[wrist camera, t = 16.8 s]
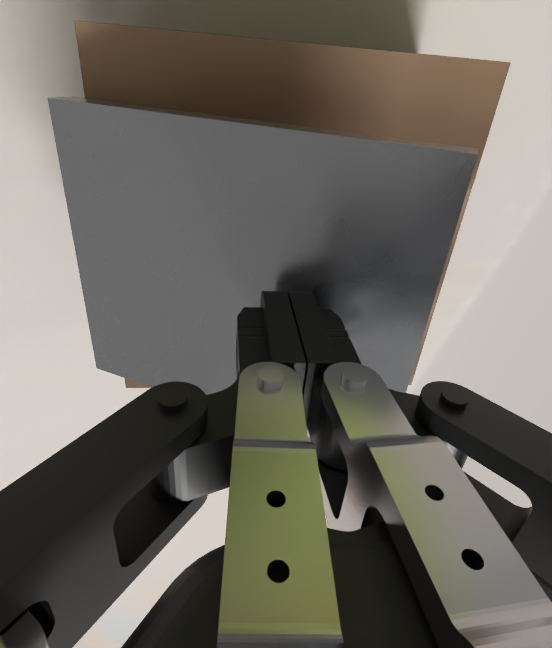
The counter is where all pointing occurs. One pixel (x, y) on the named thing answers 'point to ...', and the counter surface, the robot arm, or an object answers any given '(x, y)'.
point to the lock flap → (249, 233)
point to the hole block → (297, 88)
